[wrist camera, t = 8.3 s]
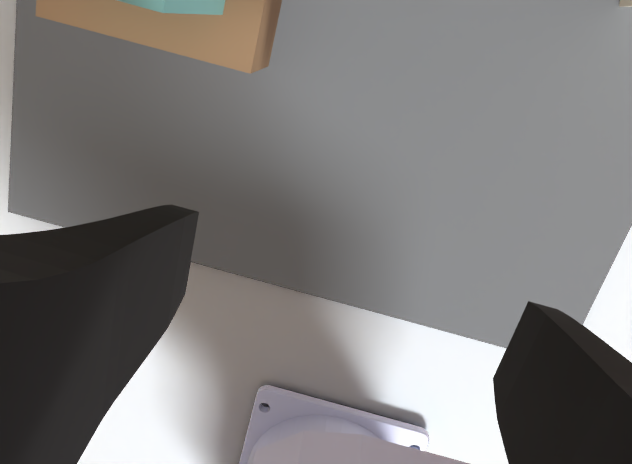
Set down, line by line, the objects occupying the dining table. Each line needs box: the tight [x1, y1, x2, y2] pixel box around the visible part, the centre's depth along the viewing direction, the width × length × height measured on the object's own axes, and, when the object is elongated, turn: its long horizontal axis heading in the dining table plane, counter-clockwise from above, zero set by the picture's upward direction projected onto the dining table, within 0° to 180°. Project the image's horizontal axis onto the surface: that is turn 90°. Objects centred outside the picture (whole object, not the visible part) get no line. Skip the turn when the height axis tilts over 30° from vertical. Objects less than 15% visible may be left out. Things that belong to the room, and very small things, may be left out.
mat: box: [8, 0, 632, 348], centre depth 20 cm, size 20×24×1 cm
